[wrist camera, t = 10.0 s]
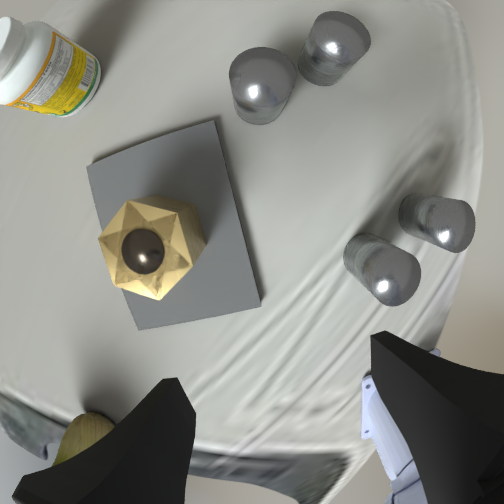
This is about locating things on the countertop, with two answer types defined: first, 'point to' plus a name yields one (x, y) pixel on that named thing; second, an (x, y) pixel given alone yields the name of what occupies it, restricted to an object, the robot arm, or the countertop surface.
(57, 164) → the countertop surface
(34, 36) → the supplement bottle
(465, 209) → the cylinder
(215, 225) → the mat
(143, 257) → the nut
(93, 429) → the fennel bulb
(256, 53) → the cylinder
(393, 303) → the cylinder
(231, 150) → the countertop surface
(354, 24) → the cylinder
